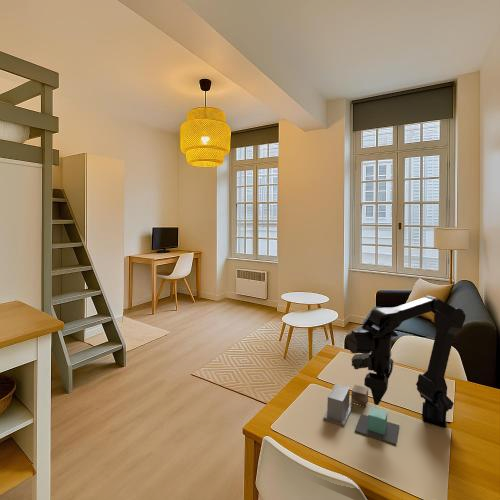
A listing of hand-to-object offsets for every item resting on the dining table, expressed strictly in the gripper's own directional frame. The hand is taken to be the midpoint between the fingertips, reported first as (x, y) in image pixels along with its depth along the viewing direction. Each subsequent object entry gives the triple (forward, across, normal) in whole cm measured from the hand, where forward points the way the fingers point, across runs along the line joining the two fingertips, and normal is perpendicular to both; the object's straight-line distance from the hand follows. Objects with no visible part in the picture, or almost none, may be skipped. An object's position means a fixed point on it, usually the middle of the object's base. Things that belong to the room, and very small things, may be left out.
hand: (378, 397), depth 101 cm
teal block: (+10, 0, 0) cm, 10 cm away
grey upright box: (+11, -2, -13) cm, 17 cm away
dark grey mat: (+11, 0, 0) cm, 11 cm away
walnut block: (+11, -13, -8) cm, 19 cm away
